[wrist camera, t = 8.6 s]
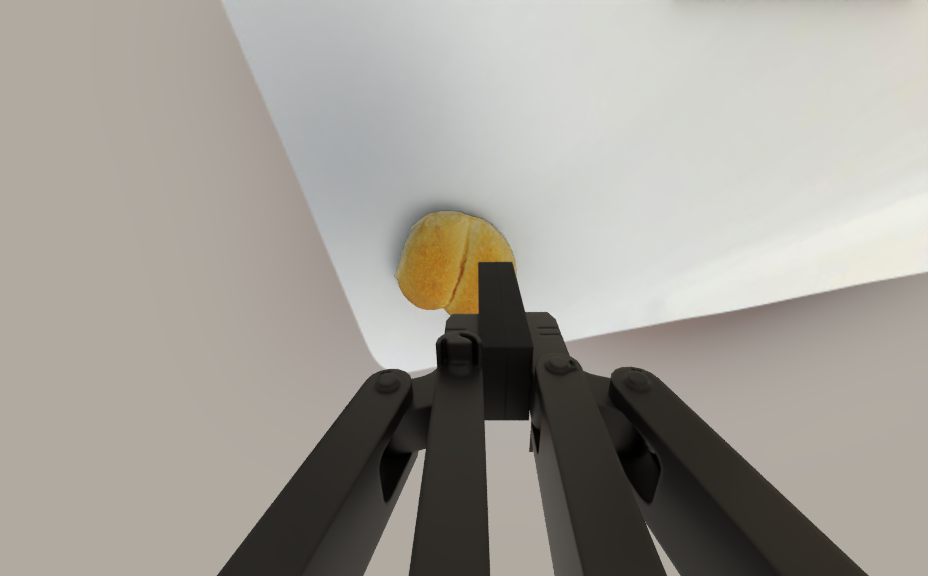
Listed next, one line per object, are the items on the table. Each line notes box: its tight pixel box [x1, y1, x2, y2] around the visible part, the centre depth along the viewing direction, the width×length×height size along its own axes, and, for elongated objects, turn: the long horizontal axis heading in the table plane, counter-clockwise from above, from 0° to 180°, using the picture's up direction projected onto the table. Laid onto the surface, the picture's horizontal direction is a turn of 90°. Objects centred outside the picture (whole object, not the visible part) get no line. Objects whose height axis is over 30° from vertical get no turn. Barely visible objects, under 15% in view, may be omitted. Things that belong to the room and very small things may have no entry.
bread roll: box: [394, 211, 516, 316], centre depth 28 cm, size 8×9×4 cm
